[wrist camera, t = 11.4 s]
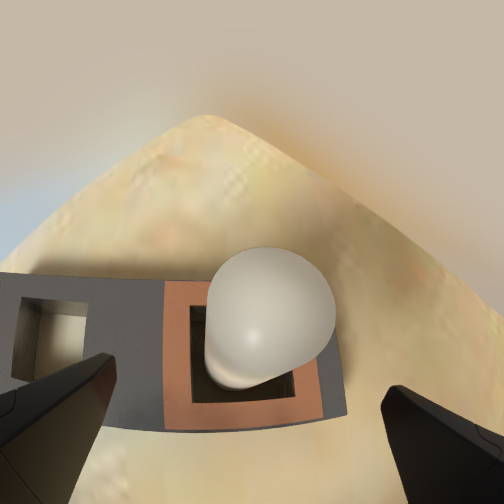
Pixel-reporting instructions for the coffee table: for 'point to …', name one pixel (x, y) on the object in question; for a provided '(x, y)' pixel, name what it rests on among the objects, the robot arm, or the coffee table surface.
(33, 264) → the coffee table surface
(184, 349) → the rail
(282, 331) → the peg
